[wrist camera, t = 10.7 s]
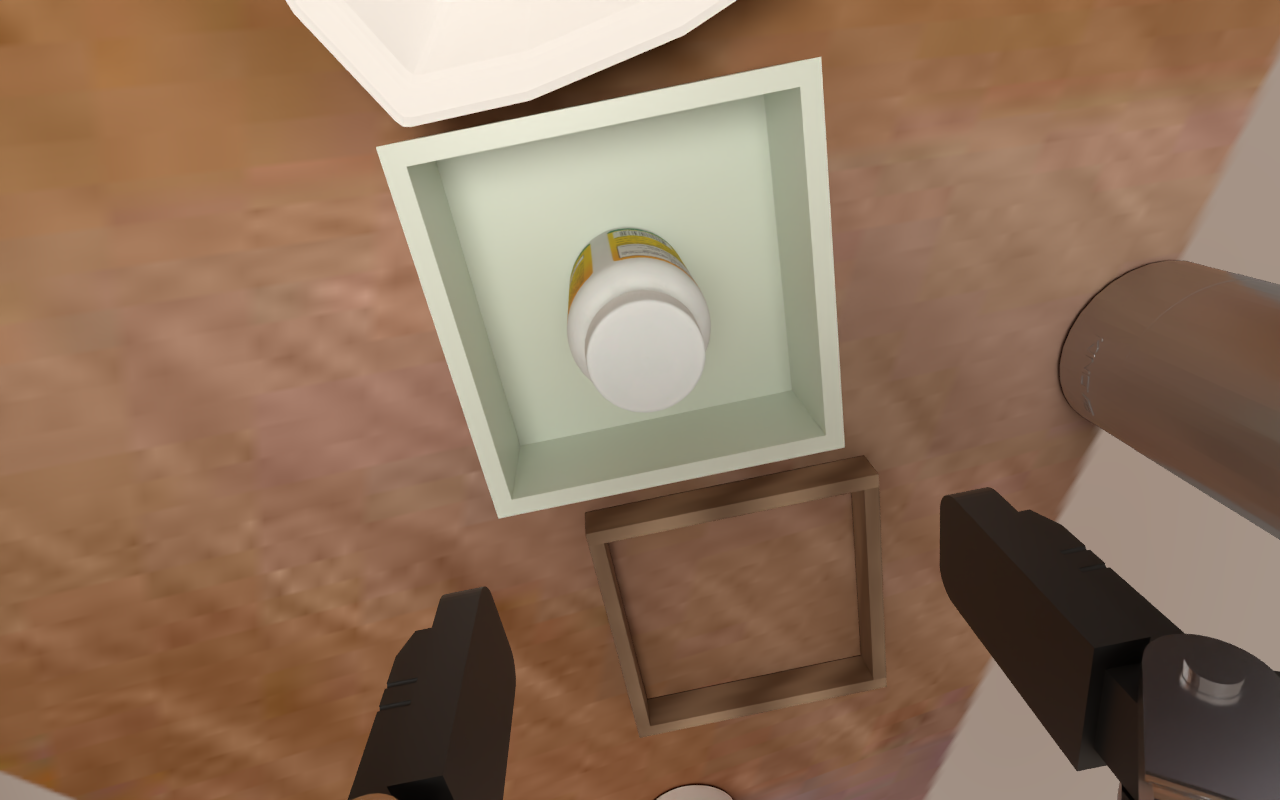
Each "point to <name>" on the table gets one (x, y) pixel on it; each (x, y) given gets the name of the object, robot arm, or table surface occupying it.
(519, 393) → the plastic bin
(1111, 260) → the table surface
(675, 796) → the cup
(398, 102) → the bowl
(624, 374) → the supplement bottle
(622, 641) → the walnut frame
